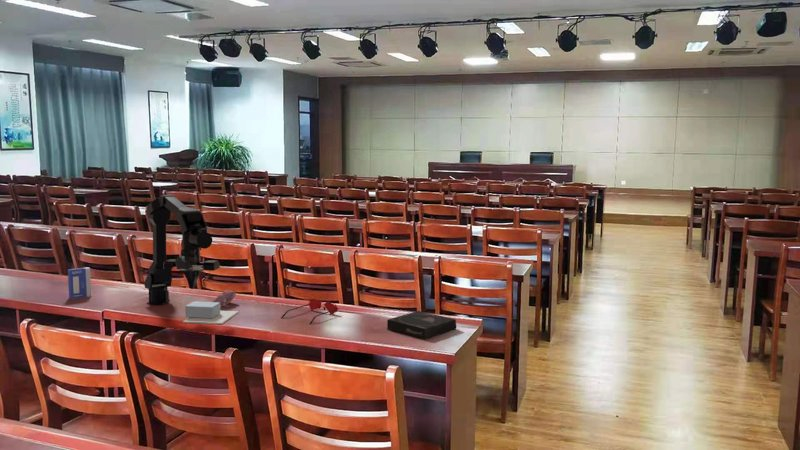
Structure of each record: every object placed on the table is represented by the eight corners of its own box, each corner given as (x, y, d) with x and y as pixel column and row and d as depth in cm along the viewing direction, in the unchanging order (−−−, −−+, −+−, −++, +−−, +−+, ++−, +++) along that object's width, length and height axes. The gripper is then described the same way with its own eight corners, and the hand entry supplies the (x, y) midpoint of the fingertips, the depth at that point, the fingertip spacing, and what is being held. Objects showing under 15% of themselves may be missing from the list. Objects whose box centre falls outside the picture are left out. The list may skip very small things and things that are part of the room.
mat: (182, 322, 217) (182, 321, 217) (202, 311, 233) (201, 309, 233) (221, 324, 216) (221, 322, 216) (238, 312, 232) (238, 311, 232)
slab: (185, 306, 221) (212, 307, 220) (193, 301, 228) (220, 302, 227) (185, 317, 222) (212, 318, 221) (193, 312, 229) (220, 313, 228)
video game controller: (218, 312, 238) (225, 296, 236) (209, 306, 239) (215, 290, 237) (233, 306, 247) (239, 291, 246) (224, 300, 248) (230, 285, 247)
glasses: (339, 315, 231) (339, 302, 231) (310, 325, 217) (310, 311, 217) (310, 309, 239) (310, 297, 238) (280, 319, 225) (280, 305, 224)
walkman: (71, 299, 249) (69, 269, 247) (69, 298, 251) (67, 268, 249) (92, 296, 254) (90, 267, 253) (89, 295, 256) (88, 266, 255)
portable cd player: (456, 330, 214) (456, 319, 213) (424, 341, 201) (424, 329, 201) (419, 321, 225) (419, 310, 224) (387, 331, 212) (387, 319, 212)
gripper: (154, 248, 215) (156, 292, 217) (207, 249, 213) (208, 294, 215) (169, 243, 226) (171, 286, 228) (219, 244, 224) (220, 287, 226)
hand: (192, 288), depth 224 cm, fingers closed
